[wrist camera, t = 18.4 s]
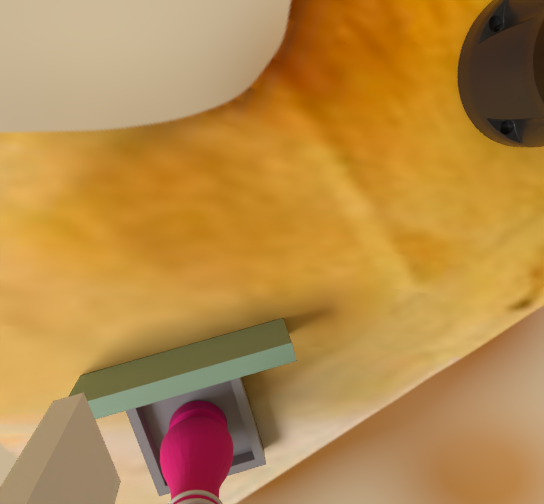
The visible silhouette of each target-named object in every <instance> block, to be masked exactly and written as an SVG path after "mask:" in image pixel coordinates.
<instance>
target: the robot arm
mask: <svg viewBox="0 0 544 504" xmlns="http://www.w3.org/2000/svg"><path fill="white" fill-rule="evenodd" d="M458 87H459V93H460V97H461V101H462V104H463V107H464V109H465V111H466V113H467V115H468V117H469V118H470V120H471V121H472V123H473V124H474V125H475V126H476V128H477V129H478V130H479V131H480V132H482V133H483V134H484V135H485V136H487V137H488V138H490V139H492V140H493V141H495V142H498V143H500V144H504V145H507V146H514V147H541V146H544V0H494V1H492V2H491V3H490V4H489V5H488V6H487V7H486V8H485V9H484V10H483V11H482V12H481V13H480V15H479V16H478V17H477V19H476V20H475V21H474V23H473V25H472V26H471V28H470V30H469V32H468V34H467V36H466V38H465V41H464V43H463V46H462V50H461V54H460V58H459V64H458ZM120 482H121V481H120V478H119V476H118V474H117V471H116V469H115V466H114V464H113V462H112V459H111V457H110V454H109V452H108V450H107V447H106V445H105V442H104V440H103V438H102V435H101V433H100V430H99V428H98V426H97V423H96V421H95V418H94V416H93V414H92V411H91V409H90V406H89V404H88V402H87V399H86V397H85V394H84V392H83V393H80V394H76V395H73V396H69V397H66V398H63V399H59V400H56V401H53V402H52V404H51V406H50V407H49V409H48V410H47V412H46V414H45V415H44V417H43V419H42V420H41V422H40V424H39V425H38V427H37V428H36V430H35V432H34V433H33V435H32V437H31V438H30V440H29V441H28V443H27V445H26V446H25V448H24V450H23V451H22V453H21V454H20V456H19V458H18V459H17V461H16V463H15V464H14V466H13V467H12V469H11V471H10V472H9V474H8V476H7V477H6V479H5V480H4V482H3V484H2V486H1V487H0V504H115V500H116V496H117V493H118V489H119V485H120Z"/></svg>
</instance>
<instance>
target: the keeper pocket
mask: <svg viewBox="0 0 544 504" xmlns="http://www.w3.org/2000/svg"><path fill="white" fill-rule="evenodd" d="M193 401H206V402H210V403H212V404H214V405H216V406H218V407H219V408H220V409H221V410H222V411H223V413H224V415H225V416H226V419H227V427H228V432H229V434H230V435H231V438H232V441H233V446H234V449H233V461H232V465H231V468H230V471H229V473H228V475H232V474H235V473H238V472H242V471H245V470H248V469H252V468H255V467H258V466H262V465H265V464H266V461H265V454H264V448H263V445H262V442H261V439H260V435H259V432H258V429H257V425H256V422H255V419H254V416H253V412H252V409H251V406H250V402H249V399H248V396H247V393H246V389H245V386H244V383H243V379H242V377H240V378H236V379H233V380H229V381H226V382H223V383H219V384H216V385H212V386H209V387H205V388H202V389H198V390H195V391H192V392H188V393H185V394H181V395H178V396H174V397H171V398H167V399H164V400H160V401H157V402H154V403H150V404H147V405H143V406H140V407H136V408H133V409H129V410H126V413H127V415H128V418H129V420H130V423H131V426H132V428H133V431H134V433H135V436H136V438H137V441H138V443H139V446H140V448H141V451H142V454H143V456H144V459H145V461H146V464H147V466H148V469H149V471H150V474H151V477H152V479H153V482H154V484H155V487H156V489H157V492H158V494H159V496H162V495H165V494H169V493H171V492H170V488H169V486H168V484H167V482H166V480H165V478H164V476H163V474H162V469H161V465H160V448H161V444H162V441H163V439H164V437H165V435H166V433H167V432H168V428H169V422H170V419H171V417H172V415H173V414H174V412H175V411H176V410H177V409H178V408H180V407H181V406H183V405H184V404H186V403H189V402H193ZM228 475H227V476H228Z"/></svg>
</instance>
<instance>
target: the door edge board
mask: <svg viewBox="0 0 544 504" xmlns="http://www.w3.org/2000/svg"><path fill="white" fill-rule="evenodd" d="M295 361H297V360H296V356H295V353H294V349H293V345H292V342H291V339H290V336H289V333H288V331H287V328H286V325H285V322H284V320H283V318H282V319H278V320H275V321H271V322H267V323H264V324H260V325H257V326H253V327H250V328H246V329H243V330H239V331H236V332H232V333H229V334H225V335H222V336H218V337H215V338H211V339H208V340H204V341H201V342H197V343H194V344H190V345H187V346H183V347H180V348H176V349H173V350H169V351H166V352H162V353H159V354H155V355H152V356H148V357H144V358H141V359H137V360H134V361H130V362H127V363H123V364H120V365H116V366H113V367H109V368H106V369H102V370H99V371H95V372H92V373H88V374H85V375H81V376H80V377H79V379H78V381H77V382H76V384H75V386H74V388H73V389H72V391H71V393H70V395H69V396H73V395H76V394H80V393H83V392H84V394H85V397H86V399H87V402H88V404H89V406H90V409H91V411H92V414H93V416H94V418H95V419H98V418H102V417H105V416H109V415H112V414H116V413H119V412H123V411H126V410H129V409H133V408H136V407H140V406H143V405H147V404H150V403H154V402H157V401H160V400H164V399H167V398H171V397H174V396H178V395H181V394H185V393H188V392H192V391H195V390H198V389H202V388H205V387H209V386H212V385H216V384H219V383H223V382H226V381H229V380H233V379H236V378H240V377H243V376H247V375H250V374H254V373H257V372H261V371H264V370H267V369H271V368H274V367H278V366H281V365H285V364H288V363H292V362H295ZM69 396H68V397H69Z"/></svg>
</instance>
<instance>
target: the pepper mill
mask: <svg viewBox="0 0 544 504" xmlns="http://www.w3.org/2000/svg"><path fill="white" fill-rule="evenodd" d="M233 449H234V446H233V441H232V438H231V435H230V434H229V432H228V427H227V419H226V416H225V415H224V413H223V411H222V410H221V409H220V408H219V407H218V406H216V405H214V404H212V403H210V402H206V401H193V402H189V403H186V404H184V405H183V406H181V407H180V408H178V409H177V410H176V411H175V412H174V414H173V415H172V417H171V419H170V422H169V428H168V432H167V433H166V435H165V437H164V439H163V441H162V444H161V448H160V465H161V469H162V474H163V476H164V478H165V480H166V482H167V484H168V486H169V488H170V492H171V501H170V502H169V503H168V504H222V502H221V501H220V500H219V488H220V486H221V484H222V483H223V481H224V480H225V478H226V477H227V475H228V473H229V471H230V468H231V465H232V461H233Z"/></svg>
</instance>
